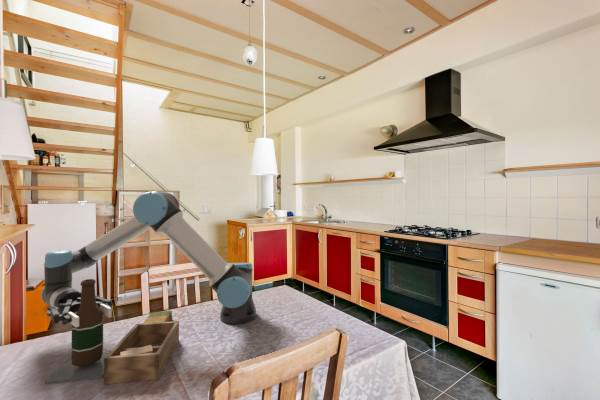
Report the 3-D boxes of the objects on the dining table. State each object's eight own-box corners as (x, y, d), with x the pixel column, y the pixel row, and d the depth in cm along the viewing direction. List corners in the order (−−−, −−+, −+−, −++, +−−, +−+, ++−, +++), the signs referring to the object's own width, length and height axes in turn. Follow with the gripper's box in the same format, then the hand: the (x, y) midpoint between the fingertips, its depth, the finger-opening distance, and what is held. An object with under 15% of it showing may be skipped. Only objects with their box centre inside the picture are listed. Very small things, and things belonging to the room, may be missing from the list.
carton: (137, 340, 102) (137, 328, 102) (150, 321, 118) (150, 311, 118) (162, 337, 104) (162, 326, 104) (172, 319, 120) (172, 309, 120)
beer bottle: (82, 353, 89) (83, 276, 89) (109, 352, 90) (109, 276, 90) (64, 368, 81) (64, 284, 81) (93, 366, 82) (93, 283, 82)
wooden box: (178, 340, 101) (178, 321, 101) (158, 379, 80) (158, 354, 80) (136, 343, 99) (136, 323, 99) (103, 384, 77) (103, 358, 77)
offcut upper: (151, 354, 87) (151, 344, 87) (152, 360, 83) (152, 350, 83) (120, 362, 82) (120, 352, 82) (120, 369, 79) (120, 358, 79)
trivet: (123, 352, 94) (123, 350, 94) (101, 378, 80) (101, 376, 80) (76, 355, 91) (76, 353, 91) (44, 383, 77) (44, 381, 77)
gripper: (102, 303, 104) (131, 318, 91) (26, 322, 88) (49, 344, 74) (102, 282, 104) (131, 295, 91) (26, 298, 88) (49, 315, 74)
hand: (94, 317), depth 83 cm, fingers closed on beer bottle, 7 cm apart
